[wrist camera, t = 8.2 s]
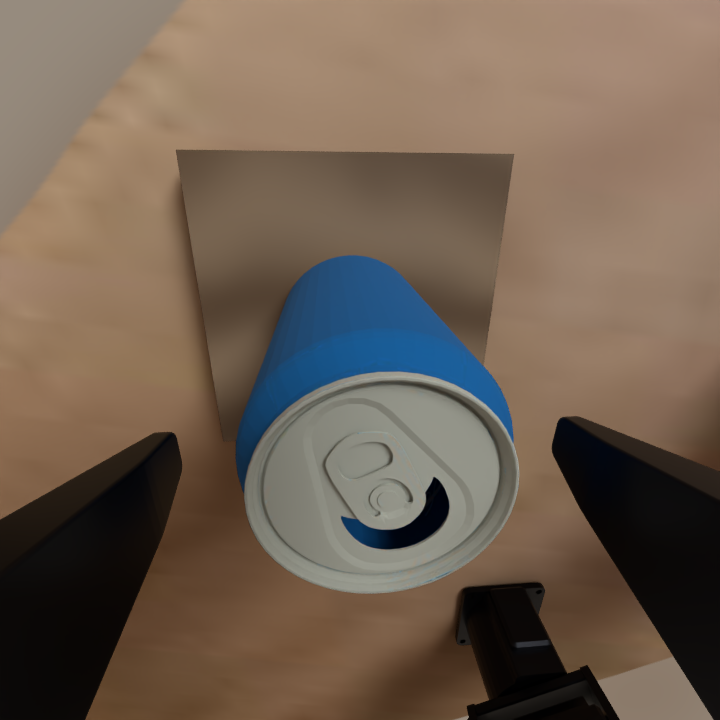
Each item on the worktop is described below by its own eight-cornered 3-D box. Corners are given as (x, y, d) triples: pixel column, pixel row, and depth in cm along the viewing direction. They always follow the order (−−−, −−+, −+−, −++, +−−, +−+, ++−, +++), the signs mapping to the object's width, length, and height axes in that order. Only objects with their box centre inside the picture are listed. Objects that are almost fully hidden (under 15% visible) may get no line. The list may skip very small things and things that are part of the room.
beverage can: (322, 399, 20) (318, 639, 9) (258, 291, 18) (148, 448, 7) (435, 347, 20) (571, 542, 9) (384, 227, 17) (487, 289, 6)
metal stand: (462, 412, 24) (473, 431, 22) (231, 421, 23) (223, 441, 21) (495, 158, 18) (513, 154, 16) (191, 154, 17) (175, 149, 15)
